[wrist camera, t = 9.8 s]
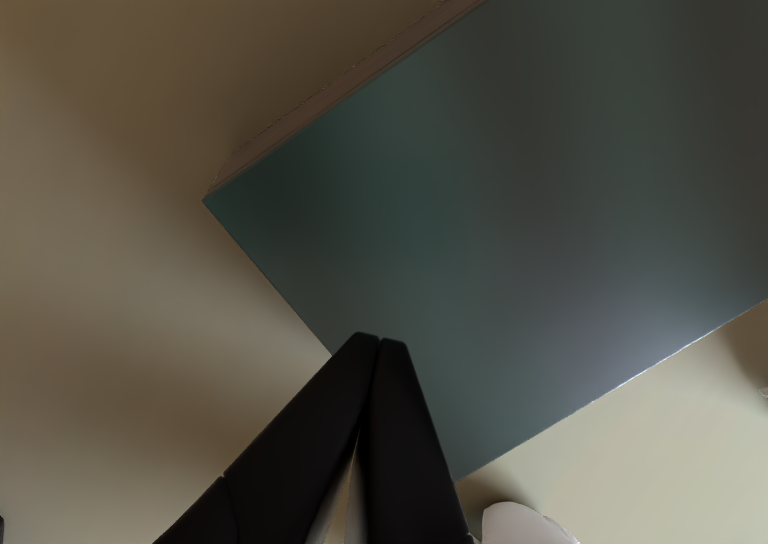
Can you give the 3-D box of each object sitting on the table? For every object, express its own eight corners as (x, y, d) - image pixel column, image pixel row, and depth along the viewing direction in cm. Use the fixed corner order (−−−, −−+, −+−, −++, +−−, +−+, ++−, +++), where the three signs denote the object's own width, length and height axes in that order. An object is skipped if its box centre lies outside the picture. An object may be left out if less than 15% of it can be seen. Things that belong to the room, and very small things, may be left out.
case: (561, -82, 16) (670, -138, 12) (677, 208, 21) (790, 252, 16) (228, 155, 18) (205, 192, 13) (407, 382, 22) (439, 472, 17)
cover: (710, -163, 11) (734, -175, 11) (822, 246, 16) (843, 255, 15) (205, 193, 13) (200, 200, 12) (440, 473, 17) (445, 489, 17)
